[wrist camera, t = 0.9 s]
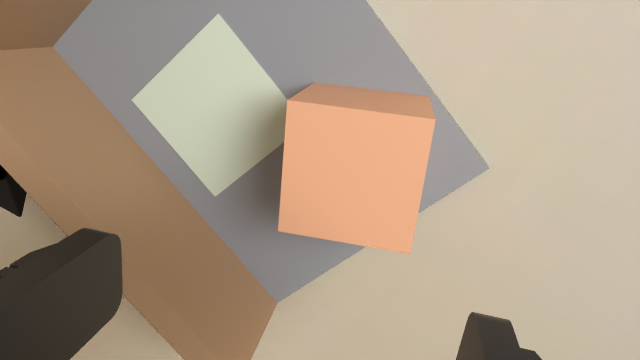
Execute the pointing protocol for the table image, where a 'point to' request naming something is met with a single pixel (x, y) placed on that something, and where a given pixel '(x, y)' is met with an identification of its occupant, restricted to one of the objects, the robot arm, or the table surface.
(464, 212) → the table surface
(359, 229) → the cube
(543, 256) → the table surface
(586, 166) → the table surface
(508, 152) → the table surface
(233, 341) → the arena
